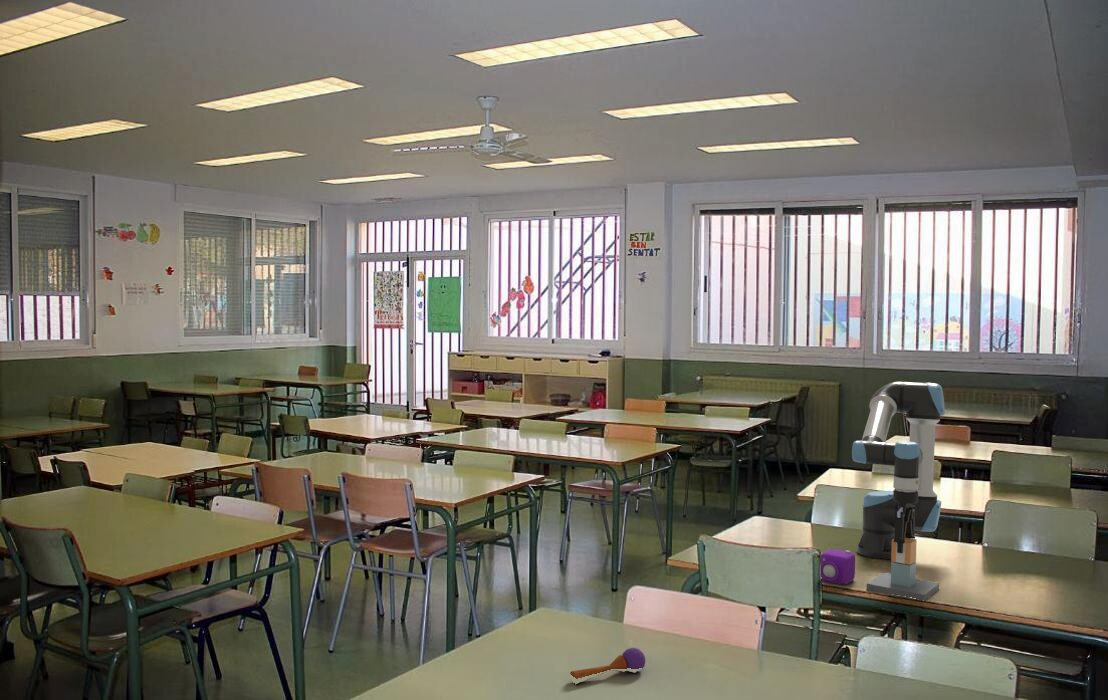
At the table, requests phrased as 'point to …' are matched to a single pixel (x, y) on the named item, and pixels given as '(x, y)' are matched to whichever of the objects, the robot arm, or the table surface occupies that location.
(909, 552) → the orange brick
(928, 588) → the base plate
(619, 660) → the purple and brown microphone
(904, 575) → the teal brick
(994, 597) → the table surface
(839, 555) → the toy camera
